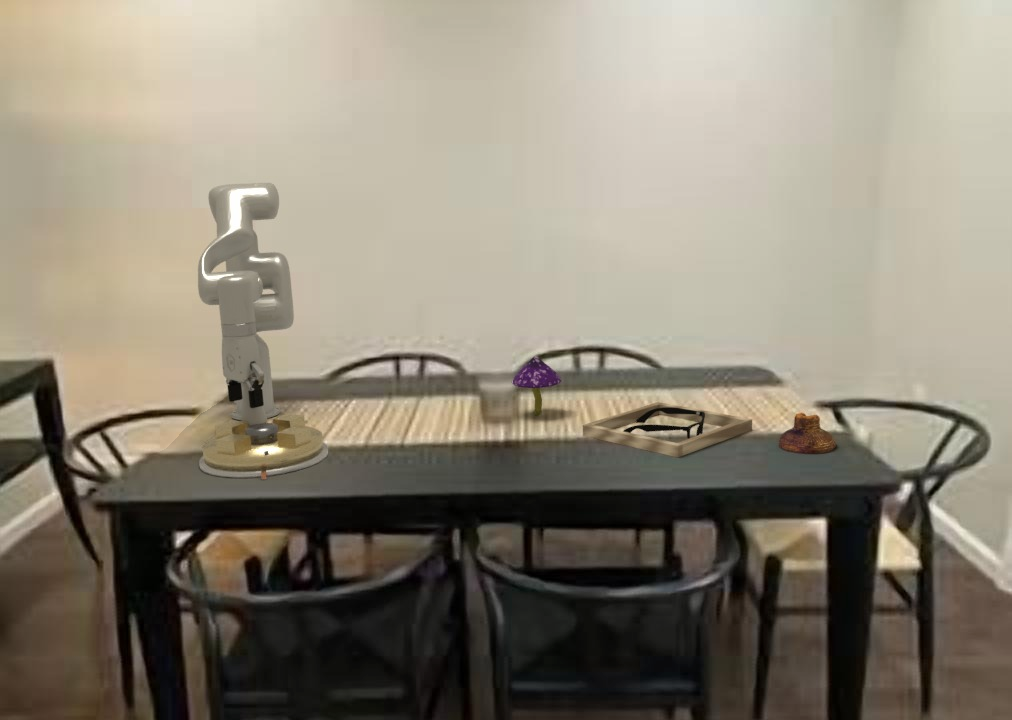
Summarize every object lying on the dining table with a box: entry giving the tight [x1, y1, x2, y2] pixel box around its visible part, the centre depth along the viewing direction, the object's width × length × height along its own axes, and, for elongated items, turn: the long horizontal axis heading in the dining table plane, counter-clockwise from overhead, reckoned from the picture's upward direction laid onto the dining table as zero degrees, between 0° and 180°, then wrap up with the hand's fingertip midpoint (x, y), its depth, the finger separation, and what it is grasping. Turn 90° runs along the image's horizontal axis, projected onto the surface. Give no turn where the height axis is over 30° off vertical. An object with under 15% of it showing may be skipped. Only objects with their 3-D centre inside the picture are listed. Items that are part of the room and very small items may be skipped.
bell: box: [778, 412, 837, 455], centre depth 214 cm, size 12×12×7 cm
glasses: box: [623, 407, 705, 439], centre depth 230 cm, size 17×18×5 cm
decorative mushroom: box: [512, 356, 563, 416], centre depth 249 cm, size 12×12×15 cm
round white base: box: [198, 442, 329, 481], centre depth 225 cm, size 28×28×1 cm
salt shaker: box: [240, 376, 268, 426], centre depth 231 cm, size 6×6×13 cm
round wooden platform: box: [202, 413, 324, 471], centre depth 224 cm, size 26×26×6 cm
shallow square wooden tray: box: [582, 401, 753, 458], centre depth 230 cm, size 27×27×2 cm
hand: (246, 403), depth 231 cm, fingers open, 9 cm apart
